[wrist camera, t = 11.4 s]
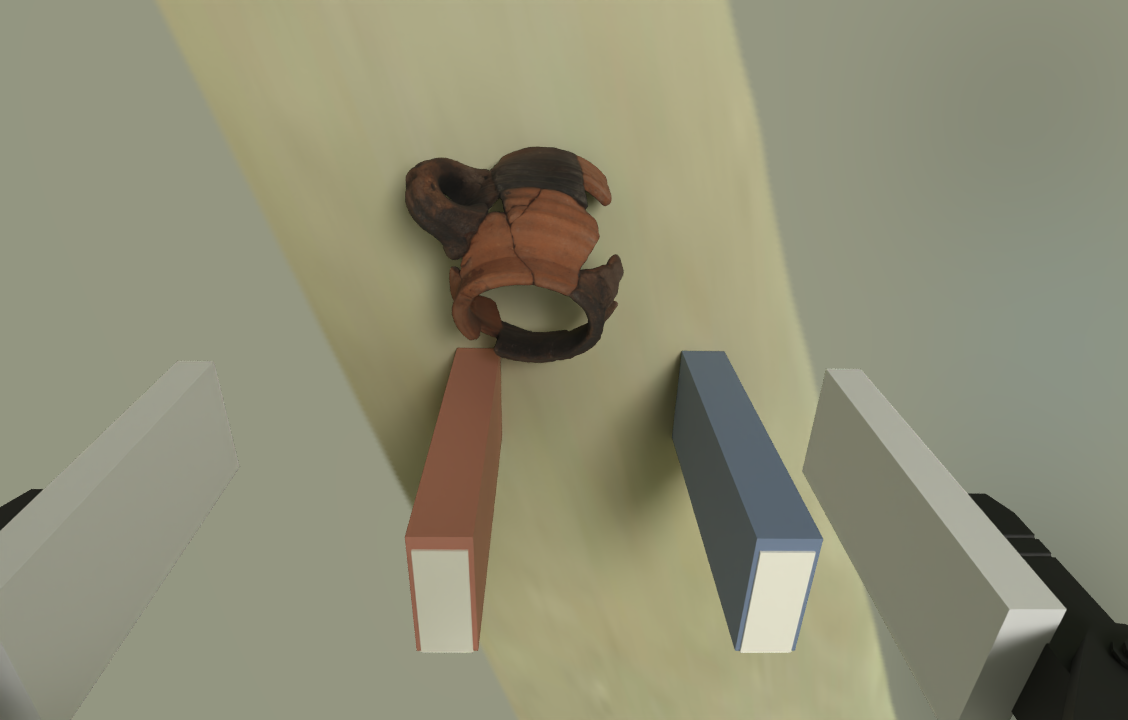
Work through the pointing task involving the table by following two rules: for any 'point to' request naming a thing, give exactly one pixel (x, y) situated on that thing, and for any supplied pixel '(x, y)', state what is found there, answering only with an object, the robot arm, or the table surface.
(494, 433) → the brick red book
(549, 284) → the pottery mug
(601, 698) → the table surface
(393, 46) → the table surface
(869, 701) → the table surface
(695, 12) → the table surface
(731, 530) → the navy book
